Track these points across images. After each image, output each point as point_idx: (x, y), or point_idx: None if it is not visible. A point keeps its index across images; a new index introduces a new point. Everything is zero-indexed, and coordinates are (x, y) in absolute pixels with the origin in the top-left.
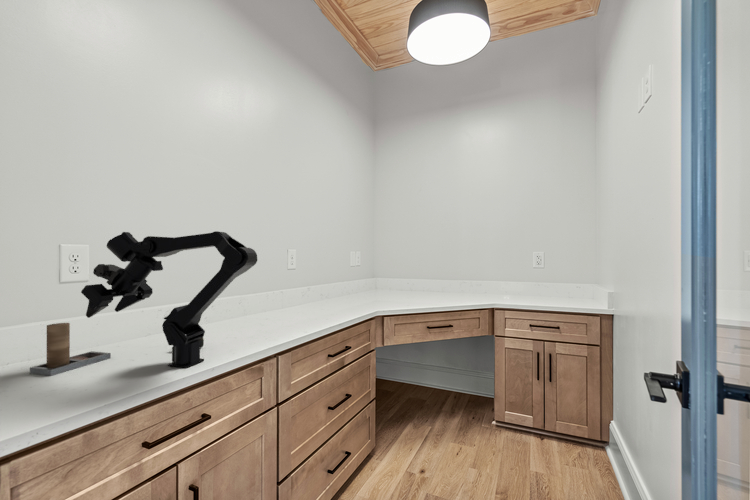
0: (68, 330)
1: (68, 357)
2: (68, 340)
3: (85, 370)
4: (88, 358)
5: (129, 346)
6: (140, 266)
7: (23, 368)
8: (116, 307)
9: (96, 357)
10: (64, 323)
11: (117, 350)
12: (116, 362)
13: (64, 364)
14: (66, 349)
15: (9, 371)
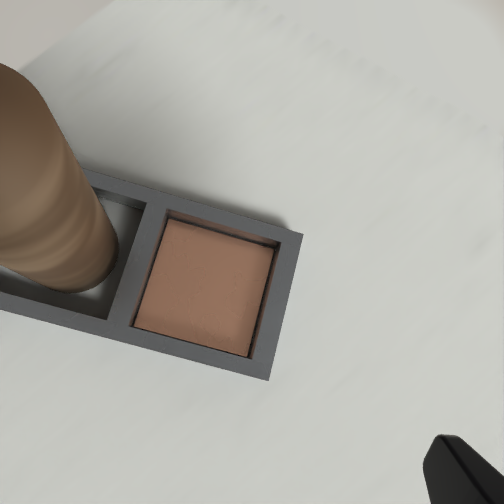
0: (2, 239)
1: (67, 282)
2: (31, 261)
3: (40, 416)
4: (245, 265)
5: (483, 309)
6: None
7: (109, 69)
8: (458, 479)
9: (187, 358)
10: (13, 155)
11: (406, 300)
12: (180, 485)
13: (48, 287)
14: (31, 275)
15: (68, 45)
